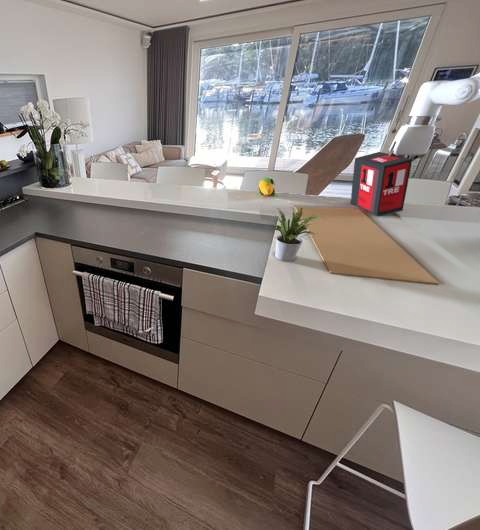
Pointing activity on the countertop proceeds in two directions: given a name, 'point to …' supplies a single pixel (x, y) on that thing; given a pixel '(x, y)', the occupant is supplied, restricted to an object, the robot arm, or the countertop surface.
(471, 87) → the robot arm
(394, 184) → the cleaning product box
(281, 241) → the house plant
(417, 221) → the countertop surface
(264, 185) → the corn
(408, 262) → the mat
